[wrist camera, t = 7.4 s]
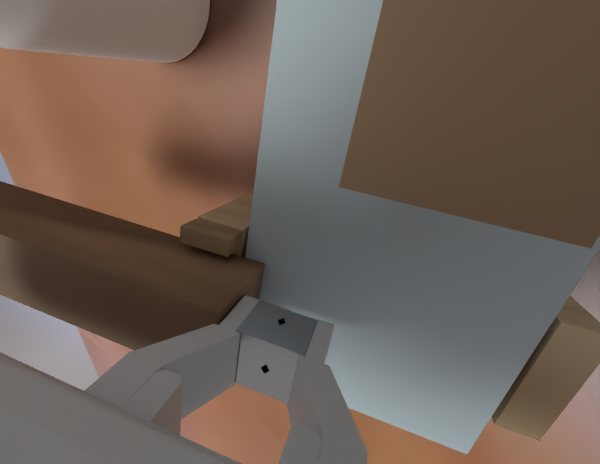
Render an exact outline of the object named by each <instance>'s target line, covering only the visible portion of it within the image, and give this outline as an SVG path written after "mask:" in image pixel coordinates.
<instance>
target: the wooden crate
mask: <svg viewBox="0 0 600 464" xmlns="http://www.w3.org/2000/svg"><path fill="white" fill-rule="evenodd" d="M252 199H253V192H252V193H250V194H247V195H245V196H243V197H241V198H238V199H236V200H234V201H232V202H230V203H227V204H225V205H223V206H221V207H219V208H216V209H214V210H212V211H210V212H207V213H205V214H203V215H201V216H199V218H197V219H195V220H193V221H190V222H188V223H186V224H184V225H182V226H181V229H180V242H181V243H184V244H188V245H191V246H194V247H197V248H200V249H203V250H207V251H210V252H213V253H216V254H219V255H222V256H226V257H228V256H229V255H231V254H235V255H238V256H241V257H244V258H245V256H246V247H247V239H248V231H249V223H250V215H251V207H252ZM599 363H600V322H599V321H598V320H596V319H595V318H594V317H593V316H592V315H591V314H590V313H589V312H588V311H586V310H585V309H584V308H583V307H582V306H581V305H580V304H579V303H577V302H576V301H575V300H574V299H573V298H572V297H571V296H569V297H568V299H567V300H566V302H565V303H564V305H563V307H562V308H561V310H560V311H559V313H558V314H557V316H556V317H555V319H554V320H553V322H552V324H551V325H550V327H549V328H548V330H547V331H546V333H545V334H544V336H543V338H542V339H541V341H540V342H539V344H538V345H537V347H536V348H535V350H534V351H533V353H532V355H531V356H530V358H529V359H528V361H527V362H526V364H525V365H524V367H523V369H522V370H521V372H520V373H519V375H518V376H517V378H516V379H515V381H514V382H513V384H512V386H511V387H510V389H509V390H508V392H507V393H506V395H505V396H504V398H503V400H502V401H501V403H500V404H499V406H498V407H497V409H496V410H495V412H494V413H493V415H492V419H493V422H494V424H495V425H498V426H501V427H504V428H506V429H509V430H512V431H514V432H517V433H520V434H523V435H525V436H528V437H531V438H533V439H536V440H539V441H540V439H541V438H542V437H543V436H544V434H545V433H546V432H547V430H548V429H549V428H550V427H551V425H552V424H553V423H554V421H555V420H556V419H557V418H558V416H559V415H560V414H561V412H562V411H563V410H564V409H565V407H566V406H567V405H568V403H569V402H570V401H571V400H572V398H573V397H574V396H575V394H576V393H577V392H578V391H579V389H580V388H581V387H582V385H583V384H584V383H585V382H586V380H587V379H588V378H589V376H590V375H591V374H592V372H593V371H594V370H595V369H596V367H597V366H598V365H599Z"/></svg>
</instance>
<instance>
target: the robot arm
mask: <svg viewBox="0 0 600 464" xmlns="http://www.w3.org/2000/svg"><path fill="white" fill-rule="evenodd" d="M333 330H334V324H332V323H329V322H325V321H322V320H317V319H314V318H311V317H308V316H305V315H302V314H299V313H296V312H293V311H290V310H288V309H285V308H282V307H279V306H276V305H274V304H271V303H268V302H265V301H263V300H259V299H256V298H254V297H251V296H248V295H246V296H244V297H243V298H242V299H241V300H240V301H239V302H238V303H237V305H236V306H235V307H234V308H233V309H232V310H231V311H230V313H229V314H228V315H227V316H226V317H225V318H224V319H223V321H222V322H221V323H220V324H219V325H217V324H212V325H209V326H206V327H203V328H200V329H197V330H194V331H191V332H188V333H185V334H182V335H179V336H176V337H173V338H170V339H167V340H164V341H161V342H158V343H155V344H152V345H149V346H146V347H143V348H140V349H137V350H134V351H131V352H129V353H128V354H127V355H126V356H124V357H123V358H122V359H121V360H120V361H118V362H117V363H116V364H115V365H114V366H113V367H111V368H110V369H109V370H108V371H107V372H106V373H104V374H103V375H102V376H101V377H100V378H99V379H97V380H96V381H95V382H94V383H93V384H92V385H90V386H89V387H88V388H87V389H86V390H85V391H83V390H81V389H78V388H76V387H74V386H72V385H70V384H68V383H65V382H63V381H61V380H59V379H56V378H55V377H52V376H50V375H48V374H46V373H44V372H42V371H39V370H37V369H35V368H33V367H31V366H29V365H26V364H24V363H22V362H20V361H18V360H16V359H13V358H11V357H9V356H7V355H5V354H3V353H0V464H241V463H238V462H236V461H234V460H232V459H230V458H228V457H225V456H223V455H221V454H219V453H217V452H215V451H212V450H210V449H208V448H206V447H204V446H202V445H199V444H197V443H195V442H193V441H191V440H189V439H186V438H184V437H182V436H180V426H181V419H182V418H184V417H185V416H187V415H188V414H190V413H191V412H193V411H194V410H196V409H198V408H199V407H201V406H202V405H204V404H205V403H207V402H208V401H210V400H211V399H213V398H215V397H216V396H218V395H219V394H221V393H222V392H224V391H225V390H227V389H228V388H230V387H232V386H233V385H234V383H236V384H239V385H242V386H244V387H247V388H250V389H252V390H255V391H258V392H261V393H263V394H265V395H267V396H270V397H272V398H274V399H277V400H279V401H281V402H283V403H286V404H287V408H288V414H289V419H290V425H291V430H290V433H289V435H288V438H287V441H286V444H285V447H284V450H283V453H282V456H281V459H280V462H279V464H367V452H368V451H367V449H366V447H365V445H364V442H363V440H362V438H361V436H360V433H359V431H358V429H357V427H356V424H355V422H354V420H353V418H352V415H351V413H350V411H349V409H348V406H347V404H346V402H345V399H344V397H343V395H342V393H341V390H340V388H339V386H338V384H337V381H336V379H335V377H334V375H333V372H332V370H331V368H330V366H329V365H326V364H325V360H326V356H327V353H328V349H329V345H330V341H331V338H332V334H333Z"/></svg>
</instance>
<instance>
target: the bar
mask: <svg viewBox="0 0 600 464" xmlns="http://www.w3.org/2000/svg"><path fill="white" fill-rule="evenodd" d="M264 266H265V264H263V263H260V262H257V261H254V260H251V259H247V258H244V257H241V256H238V255H235V254H231V255H229V256H228V257H226V256H222V255H219V254H216V253H213V252H210V251H207V250H203V249H200V248H197V247H194V246H191V245H188V244H184V243H181V242H180V237H177V236H174V235H171V234H167V233H164V232H161V231H158V230H155V229H151V228H148V227H145V226H142V225H139V224H135V223H132V222H129V221H126V220H123V219H119V218H116V217H113V216H110V215H107V214H103V213H100V212H97V211H94V210H91V209H87V208H84V207H81V206H78V205H75V204H71V203H68V202H65V201H62V200H59V199H55V198H52V197H49V196H46V195H43V194H39V193H36V192H33V191H30V190H27V189H23V188H20V187H17V186H14V185H11V184H7V183H4V182H1V181H0V295H3V296H5V297H7V298H10V299H12V300H15V301H17V302H20V303H22V304H24V305H27V306H29V307H32V308H34V309H36V310H39V311H42V312H44V313H46V314H48V315H51V316H53V317H56V318H58V319H61V320H63V321H65V322H68V323H70V324H73V325H75V326H77V327H80V328H82V329H85V330H87V331H89V332H92V333H94V334H97V335H99V336H102V337H104V338H106V339H109V340H111V341H114V342H116V343H118V344H121V345H123V346H126V347H128V348H130V349H133V350H137V349H140V348H143V347H146V346H149V345H152V344H155V343H158V342H161V341H164V340H167V339H170V338H173V337H176V336H179V335H182V334H185V333H188V332H191V331H194V330H197V329H200V328H203V327H206V326H209V325H212V324H217V325H219V324H220V323H221V322H222V321H223V319H224V318H225V317H226V316H227V315H228V314H229V313H230V311H231V310H232V309H233V308H234V307H235V306H236V305H237V303H238V302H239V301H240V300H241V299H242V298H243V297H244V296H246V295H248V296H251V297H254V298H256V299H259V298H260V292H261V285H262V279H263V272H264Z"/></svg>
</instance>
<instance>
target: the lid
mask: <svg viewBox="0 0 600 464" xmlns="http://www.w3.org/2000/svg"><path fill="white" fill-rule="evenodd" d="M599 249H600V0H277V5H276V14H275V22H274V30H273V38H272V46H271V54H270V62H269V70H268V78H267V86H266V94H265V102H264V110H263V118H262V126H261V135H260V143H259V151H258V159H257V167H256V175H255V183H254V191H253V199H252V207H251V215H250V223H249V231H248V239H247V247H246V256H245V258H247V259H251V260H254V261H257V262H260V263H263V264H265V266H264V272H263V279H262V285H261V292H260V298H259V300H263V301H265V302H268V303H271V304H274V305H276V306H279V307H282V308H285V309H288V310H290V311H293V312H296V313H299V314H302V315H305V316H308V317H311V318H314V319H317V320H322V321H325V322H329V323H332V324H334V330H333V334H332V338H331V341H330V345H329V349H328V353H327V356H326V360H325V364H326V365H329V366H330V368H331V370H332V372H333V375H334V377H335V379H336V381H337V384H338V386H339V388H340V390H341V393H342V395H343V397H344V399H345V402H346V404H347V406H348V408H350V409H353V410H355V411H358V412H361V413H363V414H366V415H368V416H371V417H373V418H376V419H378V420H381V421H383V422H386V423H389V424H391V425H394V426H396V427H399V428H401V429H404V430H406V431H409V432H411V433H414V434H417V435H419V436H422V437H424V438H427V439H429V440H432V441H434V442H437V443H439V444H442V445H445V446H447V447H450V448H452V449H455V450H457V451H460V452H462V453H465V454H468V452H469V451H470V449H471V448H472V446H473V444H474V443H475V441H476V440H477V438H478V437H479V435H480V434H481V432H482V431H483V429H484V427H485V426H486V424H487V423H488V421H489V420H490V418H491V417H492V415H493V413H494V412H495V410H496V409H497V407H498V406H499V404H500V403H501V401H502V400H503V398H504V396H505V395H506V393H507V392H508V390H509V389H510V387H511V386H512V384H513V382H514V381H515V379H516V378H517V376H518V375H519V373H520V372H521V370H522V369H523V367H524V365H525V364H526V362H527V361H528V359H529V358H530V356H531V355H532V353H533V351H534V350H535V348H536V347H537V345H538V344H539V342H540V341H541V339H542V338H543V336H544V334H545V333H546V331H547V330H548V328H549V327H550V325H551V324H552V322H553V320H554V319H555V317H556V316H557V314H558V313H559V311H560V310H561V308H562V307H563V305H564V303H565V302H566V300H567V299H568V297H569V296H570V294H571V293H572V291H573V289H574V288H575V286H576V285H577V283H578V282H579V280H580V279H581V277H582V276H583V274H584V272H585V271H586V269H587V268H588V266H589V265H590V263H591V262H592V260H593V258H594V257H595V255H596V254H597V252H598V251H599Z"/></svg>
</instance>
